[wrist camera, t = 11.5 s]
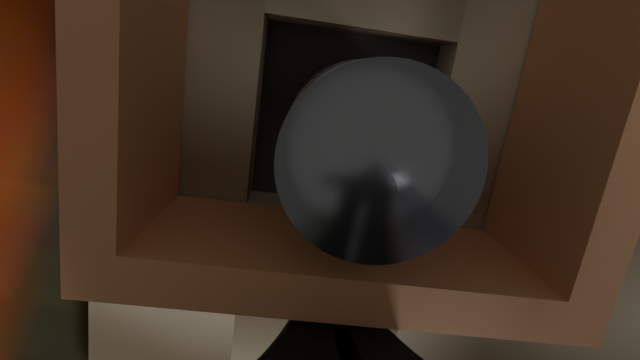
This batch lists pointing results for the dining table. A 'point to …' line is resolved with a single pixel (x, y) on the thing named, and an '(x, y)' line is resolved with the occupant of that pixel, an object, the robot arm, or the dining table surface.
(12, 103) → the dining table surface
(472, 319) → the light brown open box
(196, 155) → the board
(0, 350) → the dining table surface
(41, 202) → the dining table surface
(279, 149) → the peg
